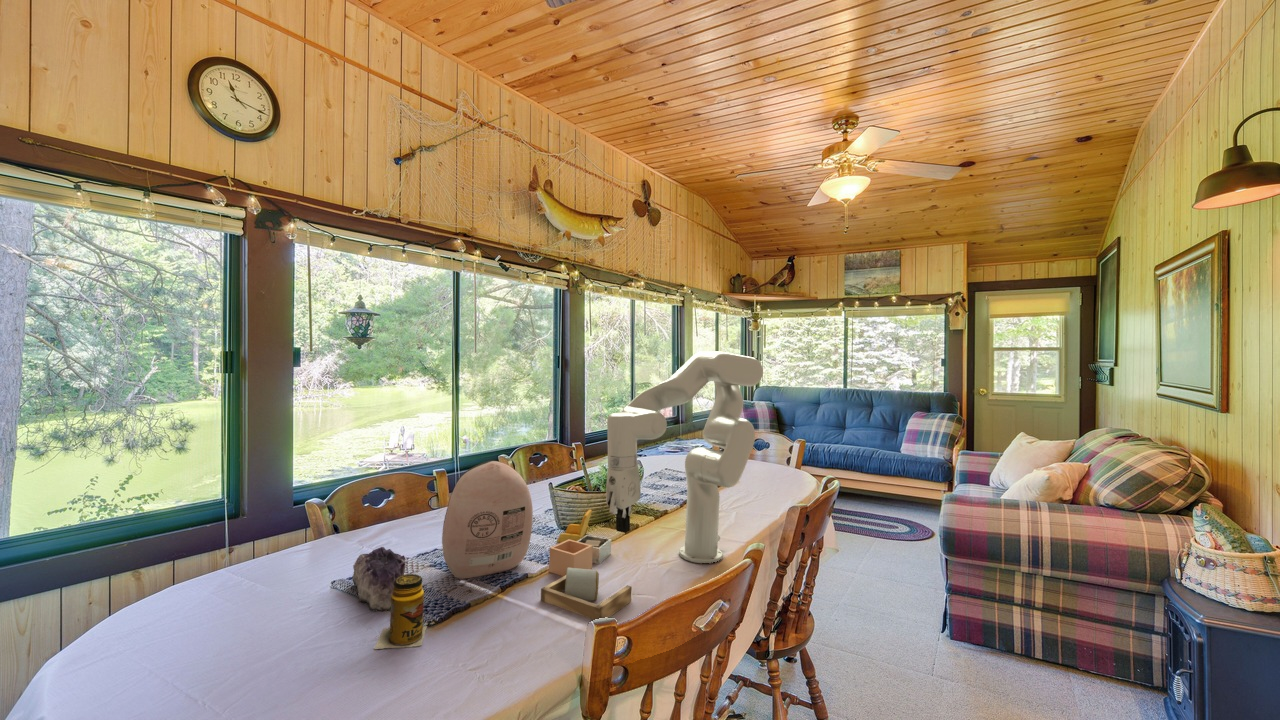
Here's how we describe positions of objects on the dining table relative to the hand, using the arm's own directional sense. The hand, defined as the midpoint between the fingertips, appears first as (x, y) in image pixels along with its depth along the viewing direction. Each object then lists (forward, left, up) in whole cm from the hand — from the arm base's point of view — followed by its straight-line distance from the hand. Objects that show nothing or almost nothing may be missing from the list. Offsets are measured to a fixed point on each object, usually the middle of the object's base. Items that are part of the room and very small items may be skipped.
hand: (623, 530), depth 138 cm
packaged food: (+18, -30, -13) cm, 37 cm away
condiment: (+49, -21, -13) cm, 55 cm away
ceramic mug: (+14, -3, -13) cm, 19 cm away
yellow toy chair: (-15, -27, -13) cm, 34 cm away
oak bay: (+15, 0, -13) cm, 20 cm away
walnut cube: (-6, -14, -12) cm, 19 cm away
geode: (+39, -41, -13) cm, 58 cm away
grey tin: (-6, -14, -13) cm, 20 cm away
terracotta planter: (+5, -13, -13) cm, 19 cm away
